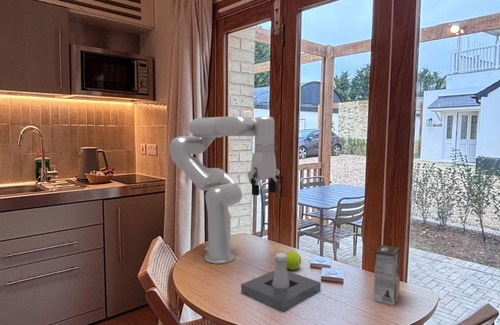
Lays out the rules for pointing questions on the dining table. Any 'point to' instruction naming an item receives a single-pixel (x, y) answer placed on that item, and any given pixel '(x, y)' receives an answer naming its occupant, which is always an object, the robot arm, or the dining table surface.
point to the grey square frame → (276, 298)
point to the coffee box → (387, 274)
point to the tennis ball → (293, 260)
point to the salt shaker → (280, 272)
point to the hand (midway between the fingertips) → (264, 193)
